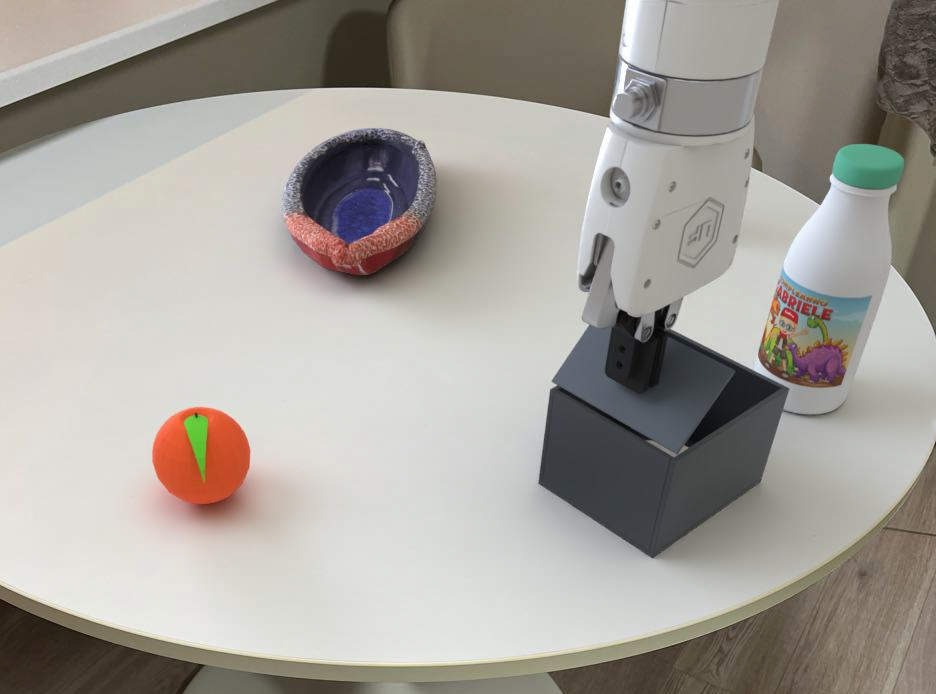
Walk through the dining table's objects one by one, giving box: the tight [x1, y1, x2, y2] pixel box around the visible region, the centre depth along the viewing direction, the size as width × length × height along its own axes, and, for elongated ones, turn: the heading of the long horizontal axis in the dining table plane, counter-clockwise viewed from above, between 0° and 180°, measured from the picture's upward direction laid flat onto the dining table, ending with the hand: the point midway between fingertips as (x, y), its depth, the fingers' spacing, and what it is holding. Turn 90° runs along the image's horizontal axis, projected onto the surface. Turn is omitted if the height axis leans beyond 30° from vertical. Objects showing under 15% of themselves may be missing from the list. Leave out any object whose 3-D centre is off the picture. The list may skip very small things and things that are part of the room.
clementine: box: [151, 406, 251, 505], centre depth 75 cm, size 8×7×7 cm
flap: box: [551, 324, 735, 454], centre depth 69 cm, size 6×11×1 cm
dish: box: [281, 127, 438, 276], centre depth 109 cm, size 16×31×5 cm, turn 172°
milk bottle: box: [753, 143, 905, 415], centre depth 81 cm, size 8×8×20 cm
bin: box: [537, 328, 789, 559], centre depth 76 cm, size 13×11×8 cm
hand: (630, 380), depth 69 cm, fingers closed
